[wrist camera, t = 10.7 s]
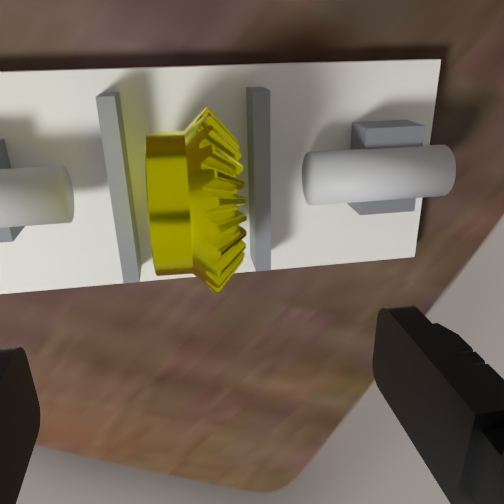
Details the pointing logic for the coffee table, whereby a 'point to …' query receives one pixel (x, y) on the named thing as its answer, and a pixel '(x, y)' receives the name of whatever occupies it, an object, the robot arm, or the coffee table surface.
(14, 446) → the robot arm
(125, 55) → the coffee table surface
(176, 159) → the gear
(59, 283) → the coupling board
